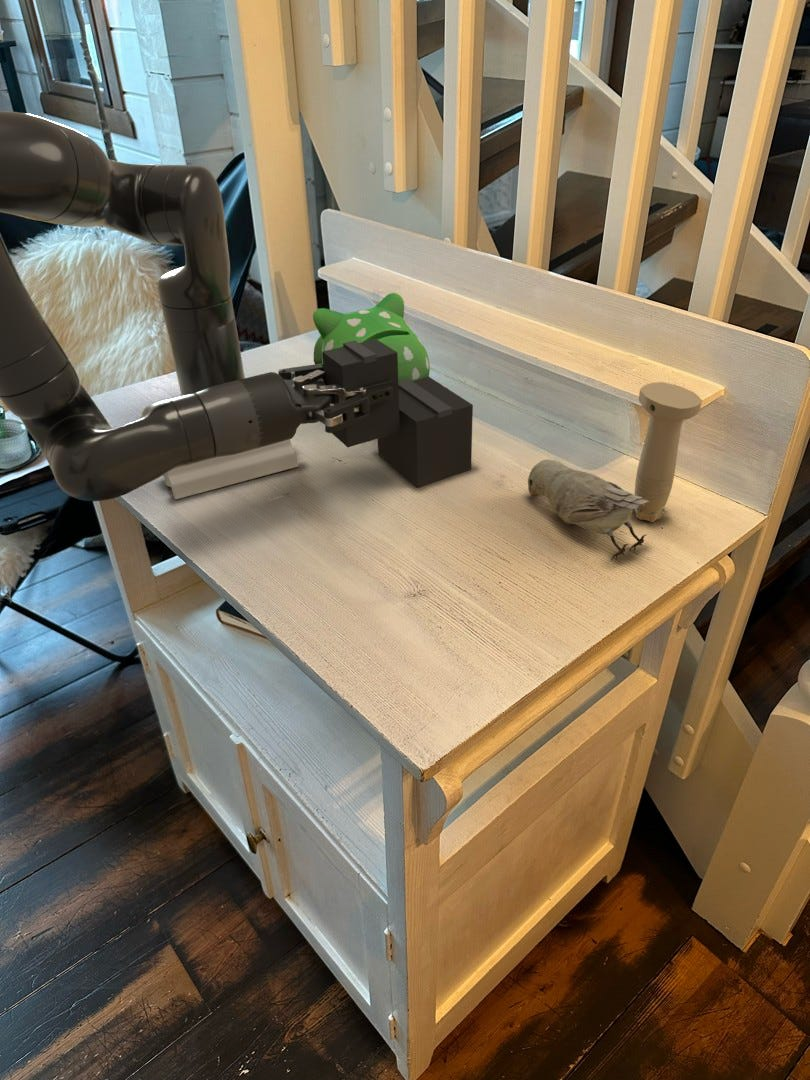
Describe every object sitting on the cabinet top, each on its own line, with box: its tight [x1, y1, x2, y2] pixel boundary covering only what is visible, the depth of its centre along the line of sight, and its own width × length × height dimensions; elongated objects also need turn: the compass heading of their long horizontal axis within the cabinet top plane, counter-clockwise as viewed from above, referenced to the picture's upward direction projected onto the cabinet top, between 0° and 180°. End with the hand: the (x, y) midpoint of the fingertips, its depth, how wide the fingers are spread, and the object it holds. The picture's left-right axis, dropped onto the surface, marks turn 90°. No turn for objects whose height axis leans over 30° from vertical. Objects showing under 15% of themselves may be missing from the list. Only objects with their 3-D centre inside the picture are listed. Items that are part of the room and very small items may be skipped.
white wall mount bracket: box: [163, 439, 299, 500], centre depth 96 cm, size 17×5×10 cm, turn 117°
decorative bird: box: [527, 459, 649, 562], centre depth 83 cm, size 5×16×8 cm, turn 35°
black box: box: [322, 339, 400, 448], centre depth 88 cm, size 5×7×10 cm
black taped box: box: [377, 376, 474, 488], centre depth 95 cm, size 10×8×9 cm
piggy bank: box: [312, 292, 431, 382], centre depth 107 cm, size 14×18×15 cm
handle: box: [633, 381, 703, 523], centre depth 82 cm, size 5×6×15 cm
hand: (381, 379), depth 88 cm, fingers closed on black box, 5 cm apart
